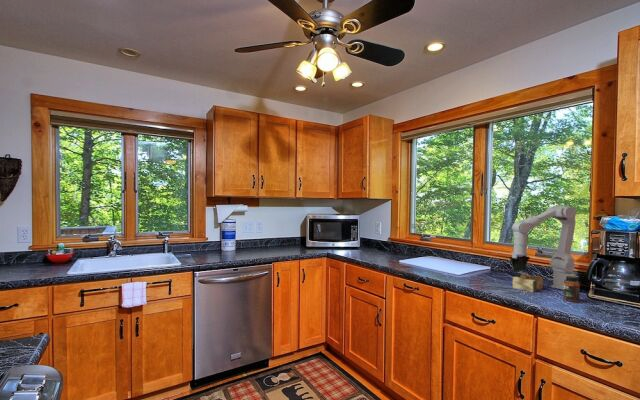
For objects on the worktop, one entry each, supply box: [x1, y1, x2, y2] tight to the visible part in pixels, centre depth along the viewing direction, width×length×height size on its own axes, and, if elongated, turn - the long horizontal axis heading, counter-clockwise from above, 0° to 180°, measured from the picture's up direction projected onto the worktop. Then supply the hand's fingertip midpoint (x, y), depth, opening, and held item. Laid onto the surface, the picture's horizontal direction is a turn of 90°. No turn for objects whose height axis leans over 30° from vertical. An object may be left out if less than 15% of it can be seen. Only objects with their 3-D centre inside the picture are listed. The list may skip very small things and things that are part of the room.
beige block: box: [512, 276, 538, 293], centre depth 162 cm, size 10×3×6 cm, turn 36°
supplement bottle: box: [562, 276, 581, 303], centre depth 145 cm, size 6×6×11 cm
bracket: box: [520, 272, 544, 290], centre depth 167 cm, size 9×4×7 cm, turn 36°
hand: (519, 270), depth 164 cm, fingers open, 7 cm apart
